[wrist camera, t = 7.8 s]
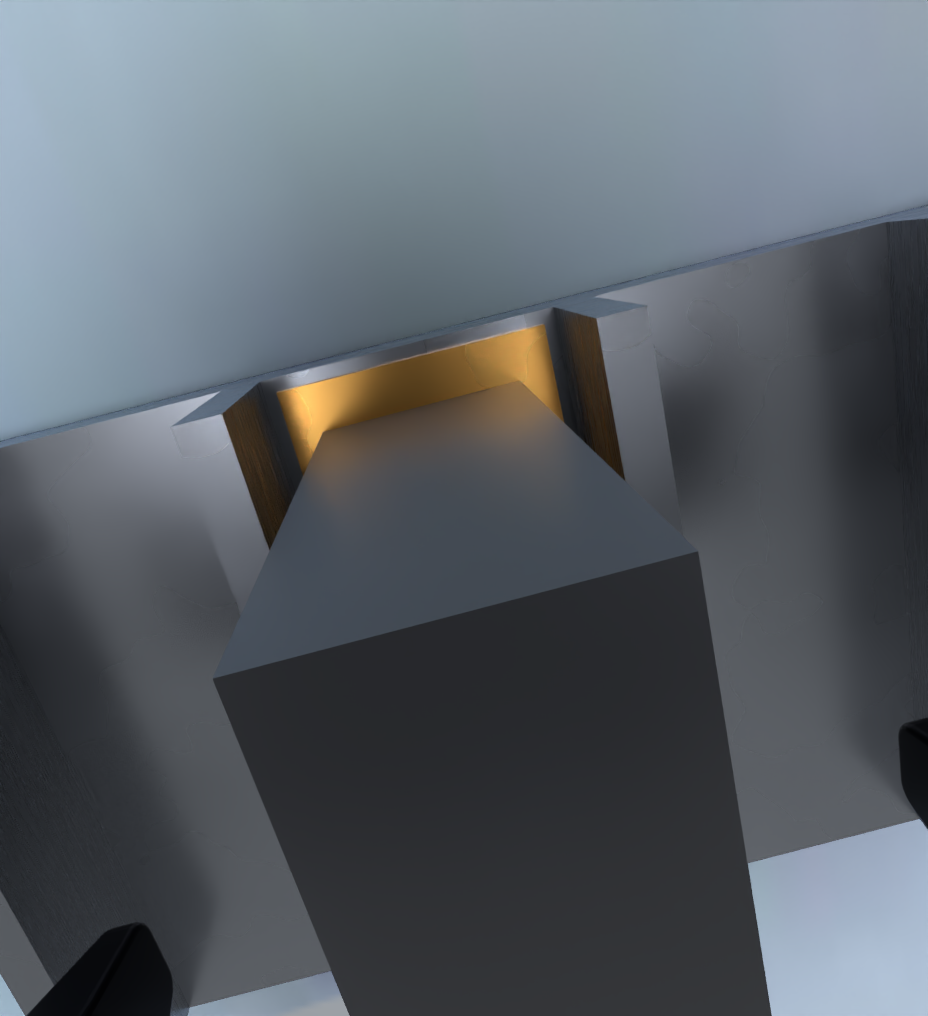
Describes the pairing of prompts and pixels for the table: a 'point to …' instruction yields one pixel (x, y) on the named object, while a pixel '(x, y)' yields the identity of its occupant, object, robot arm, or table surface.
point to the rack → (413, 383)
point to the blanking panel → (495, 727)
